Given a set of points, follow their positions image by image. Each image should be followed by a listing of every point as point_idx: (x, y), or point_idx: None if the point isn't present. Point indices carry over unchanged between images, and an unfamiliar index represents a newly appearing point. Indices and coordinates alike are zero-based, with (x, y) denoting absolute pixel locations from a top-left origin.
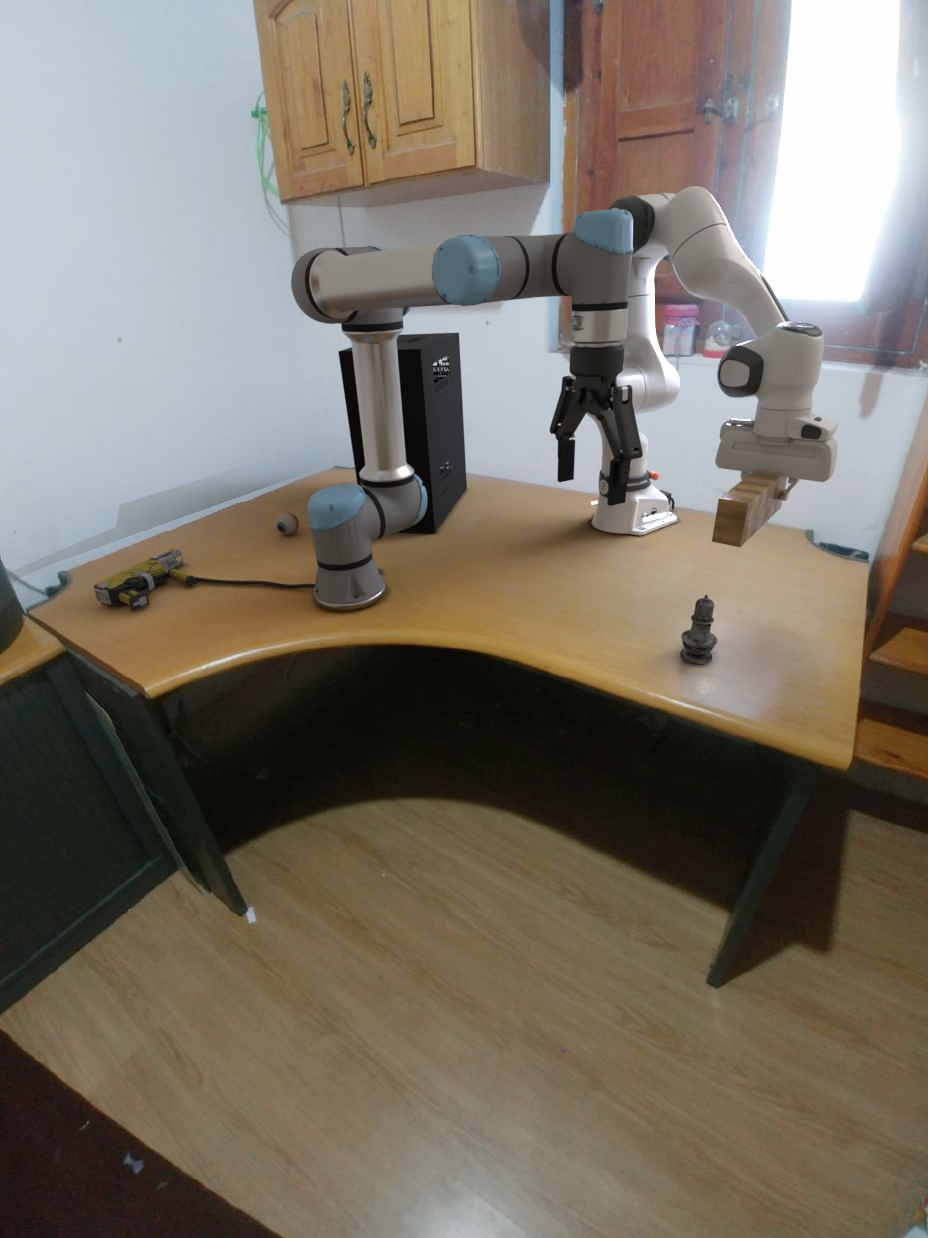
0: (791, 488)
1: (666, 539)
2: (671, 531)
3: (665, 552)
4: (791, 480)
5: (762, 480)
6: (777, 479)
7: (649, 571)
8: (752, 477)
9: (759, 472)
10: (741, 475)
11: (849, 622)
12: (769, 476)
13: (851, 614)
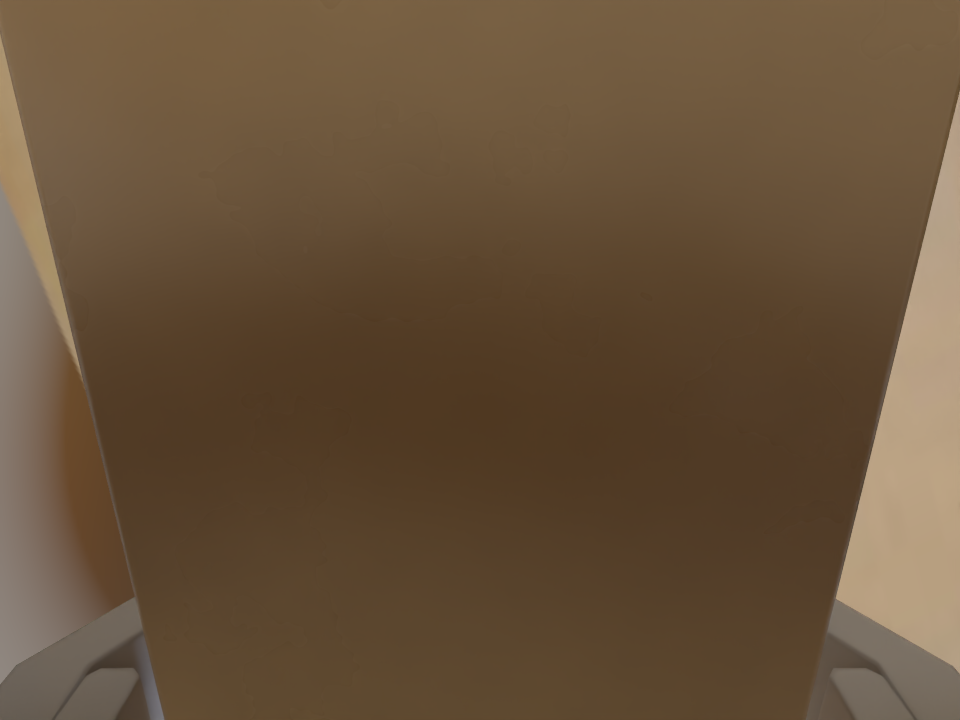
0: (116, 613)
1: (944, 555)
2: (938, 637)
3: (920, 427)
4: (59, 713)
5: (367, 15)
6: (117, 452)
7: (954, 180)
8: (750, 195)
9: (663, 709)
10: (953, 683)
11: (19, 182)
12: (344, 519)
13: (46, 261)
